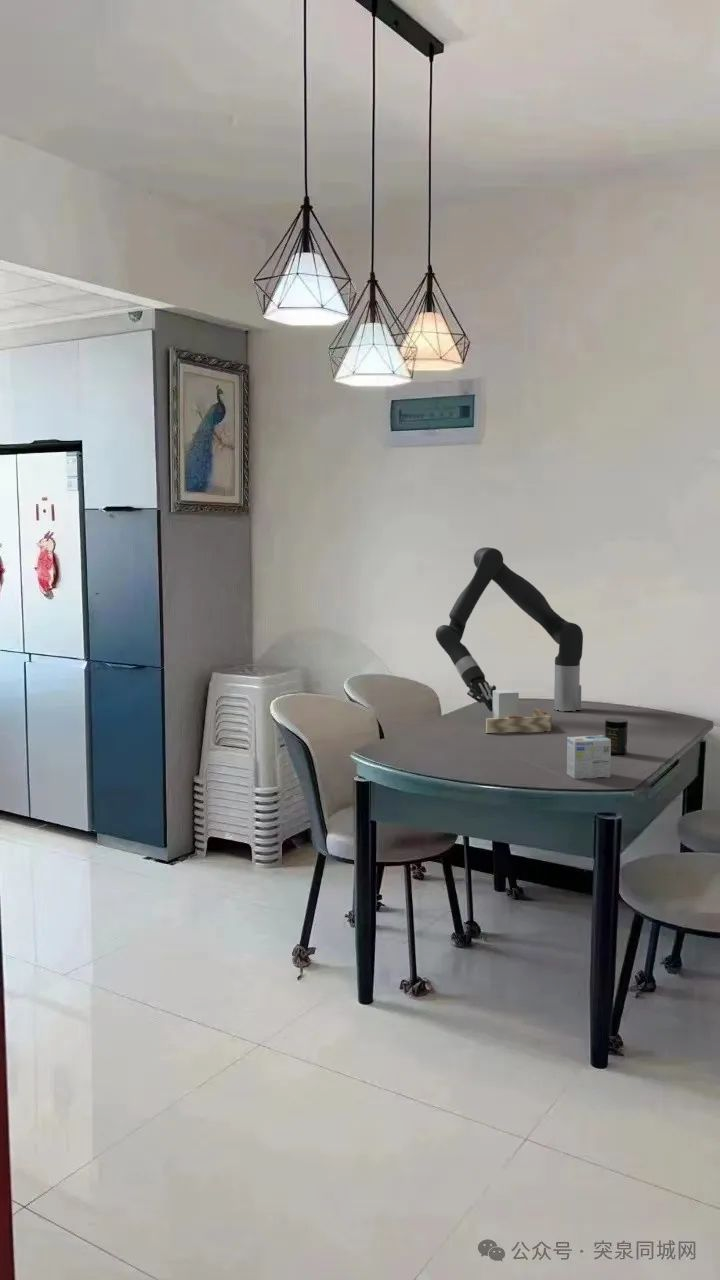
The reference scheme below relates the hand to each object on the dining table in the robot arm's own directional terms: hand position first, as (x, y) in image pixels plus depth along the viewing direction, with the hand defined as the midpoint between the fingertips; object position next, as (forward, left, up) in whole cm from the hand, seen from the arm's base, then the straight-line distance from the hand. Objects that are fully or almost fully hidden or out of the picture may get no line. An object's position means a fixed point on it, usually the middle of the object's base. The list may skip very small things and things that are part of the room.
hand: (493, 710), depth 342 cm
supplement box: (-3, +4, -5) cm, 8 cm away
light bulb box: (-7, +72, -6) cm, 73 cm away
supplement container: (-25, +48, -5) cm, 55 cm away
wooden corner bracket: (-5, +6, -5) cm, 9 cm away
